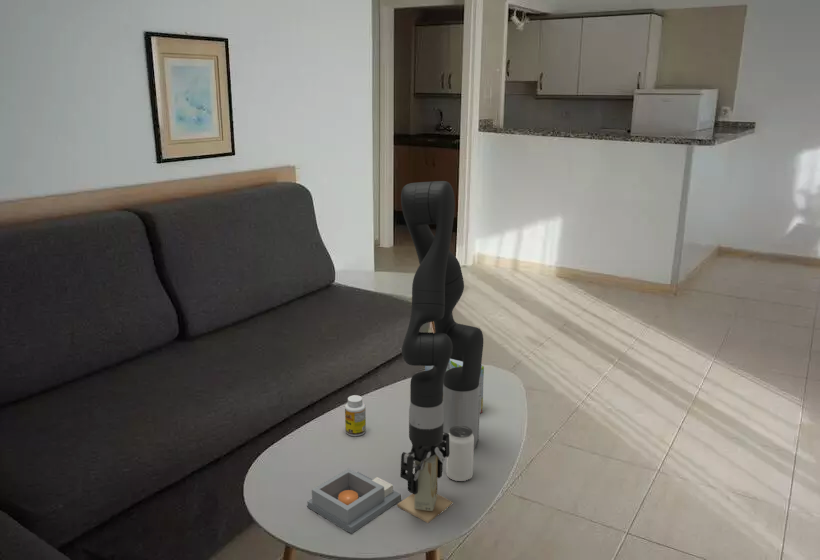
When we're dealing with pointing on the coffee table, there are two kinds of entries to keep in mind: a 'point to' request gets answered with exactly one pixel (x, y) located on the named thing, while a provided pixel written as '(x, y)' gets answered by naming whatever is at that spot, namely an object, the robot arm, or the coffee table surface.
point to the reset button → (348, 496)
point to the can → (460, 453)
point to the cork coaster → (424, 515)
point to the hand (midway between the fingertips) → (425, 484)
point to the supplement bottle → (355, 416)
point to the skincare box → (427, 485)
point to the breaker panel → (361, 511)
